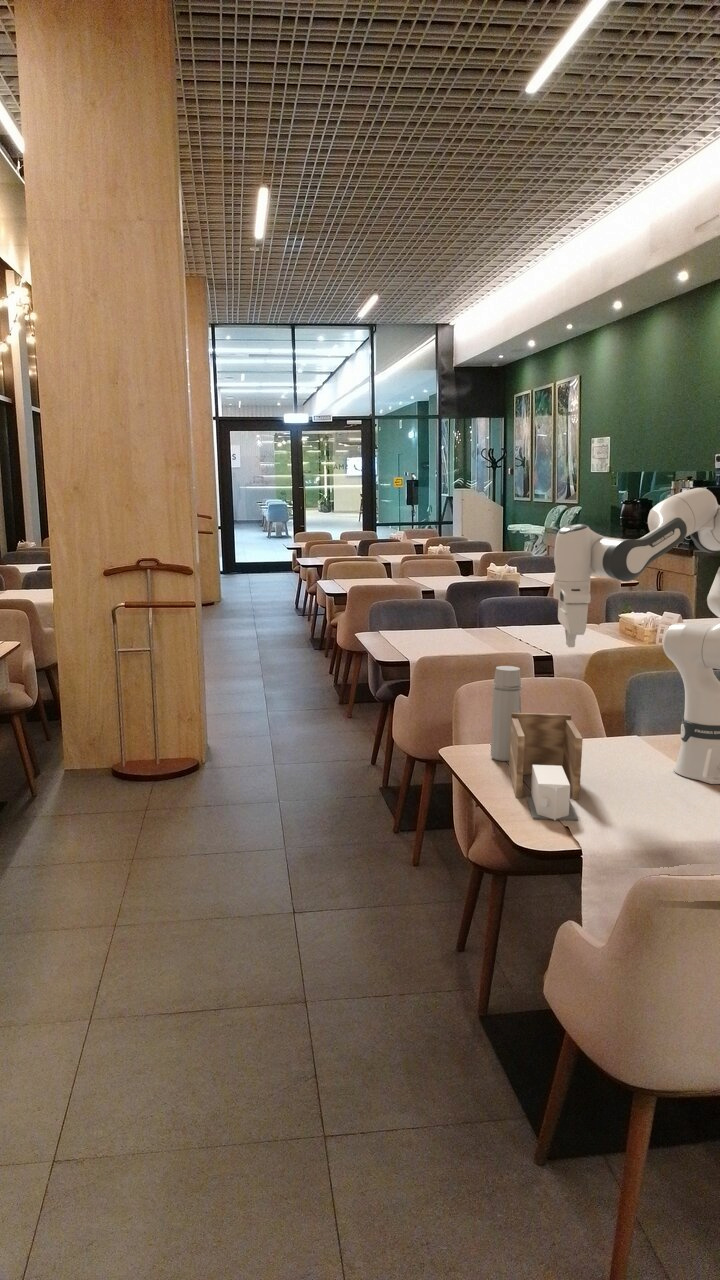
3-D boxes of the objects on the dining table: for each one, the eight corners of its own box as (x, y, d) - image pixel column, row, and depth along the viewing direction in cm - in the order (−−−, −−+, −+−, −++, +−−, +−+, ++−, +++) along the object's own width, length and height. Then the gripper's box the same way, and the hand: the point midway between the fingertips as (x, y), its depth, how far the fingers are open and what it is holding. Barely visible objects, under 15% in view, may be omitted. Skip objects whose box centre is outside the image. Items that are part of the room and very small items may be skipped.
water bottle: (501, 763, 254) (504, 672, 250) (484, 756, 261) (487, 666, 257) (529, 759, 258) (533, 669, 254) (511, 752, 265) (515, 663, 261)
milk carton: (562, 765, 228) (572, 790, 210) (560, 793, 229) (571, 821, 211) (532, 764, 229) (540, 789, 210) (530, 792, 230) (538, 820, 211)
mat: (568, 799, 227) (569, 798, 227) (578, 820, 213) (578, 818, 213) (526, 798, 227) (526, 796, 227) (532, 818, 213) (532, 817, 213)
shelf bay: (567, 774, 246) (570, 714, 243) (579, 799, 227) (582, 734, 224) (508, 772, 247) (511, 712, 244) (515, 797, 228) (518, 732, 225)
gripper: (552, 585, 246) (551, 638, 248) (565, 597, 226) (563, 654, 228) (577, 585, 245) (576, 638, 248) (592, 597, 225) (590, 654, 228)
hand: (570, 646), depth 238 cm, fingers closed
